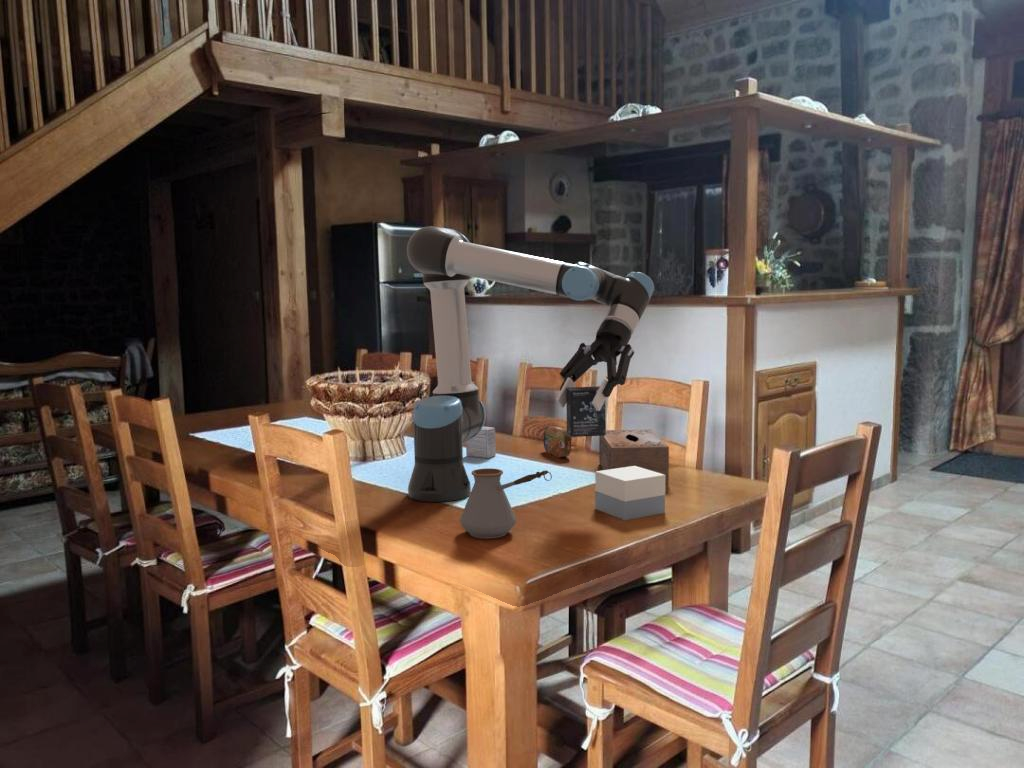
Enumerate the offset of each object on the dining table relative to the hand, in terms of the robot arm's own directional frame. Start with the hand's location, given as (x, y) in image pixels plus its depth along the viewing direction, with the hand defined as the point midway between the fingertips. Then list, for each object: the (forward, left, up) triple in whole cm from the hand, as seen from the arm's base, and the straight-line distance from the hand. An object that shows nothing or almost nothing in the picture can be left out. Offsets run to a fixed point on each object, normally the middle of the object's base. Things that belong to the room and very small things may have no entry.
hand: (577, 405), depth 183 cm
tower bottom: (+11, -5, -24) cm, 27 cm away
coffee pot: (-23, -8, -24) cm, 34 cm away
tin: (+30, +56, -24) cm, 68 cm away
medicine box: (+10, +67, -24) cm, 72 cm away
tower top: (+11, -5, -20) cm, 23 cm away
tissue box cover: (+34, +24, -24) cm, 48 cm away
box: (+3, +1, -7) cm, 8 cm away
